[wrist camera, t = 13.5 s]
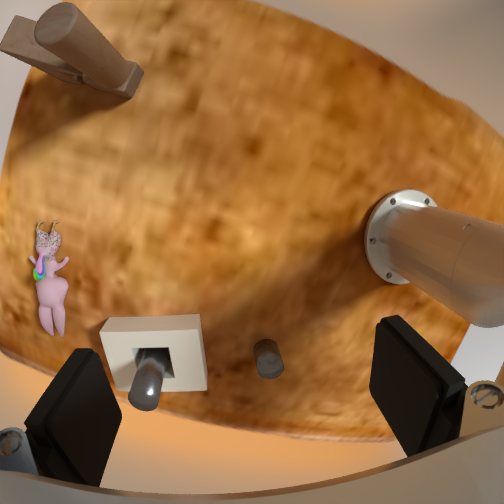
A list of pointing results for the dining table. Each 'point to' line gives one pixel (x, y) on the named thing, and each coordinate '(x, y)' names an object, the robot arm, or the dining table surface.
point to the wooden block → (71, 50)
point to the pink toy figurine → (50, 280)
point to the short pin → (268, 359)
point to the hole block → (152, 336)
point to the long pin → (149, 379)
